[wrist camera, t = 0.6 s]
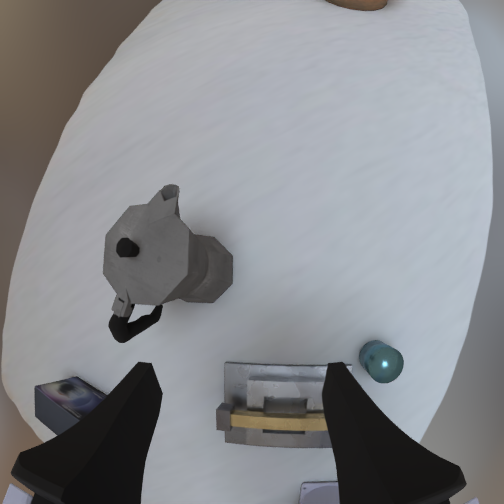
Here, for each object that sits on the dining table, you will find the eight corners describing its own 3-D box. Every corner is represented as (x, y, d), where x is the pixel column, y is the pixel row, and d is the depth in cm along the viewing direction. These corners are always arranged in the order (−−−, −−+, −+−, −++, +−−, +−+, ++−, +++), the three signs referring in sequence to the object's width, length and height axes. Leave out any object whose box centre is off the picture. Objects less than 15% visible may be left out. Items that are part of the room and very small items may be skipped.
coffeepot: (191, 213, 39) (117, 157, 22) (252, 236, 37) (208, 183, 20) (150, 314, 38) (56, 319, 21) (207, 345, 36) (132, 378, 19)
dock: (342, 444, 31) (347, 467, 25) (226, 439, 34) (213, 460, 27) (351, 364, 32) (360, 377, 26) (226, 361, 35) (211, 373, 29)
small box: (122, 400, 37) (79, 420, 27) (119, 431, 36) (80, 454, 26) (76, 373, 39) (32, 384, 29) (74, 404, 39) (34, 417, 28)
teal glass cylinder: (387, 369, 31) (401, 381, 26) (358, 371, 32) (367, 384, 26) (389, 339, 32) (404, 346, 26) (360, 340, 33) (370, 349, 27)
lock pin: (349, 426, 28) (352, 435, 26) (222, 422, 31) (216, 429, 28) (352, 406, 28) (355, 414, 26) (221, 402, 31) (216, 409, 29)
